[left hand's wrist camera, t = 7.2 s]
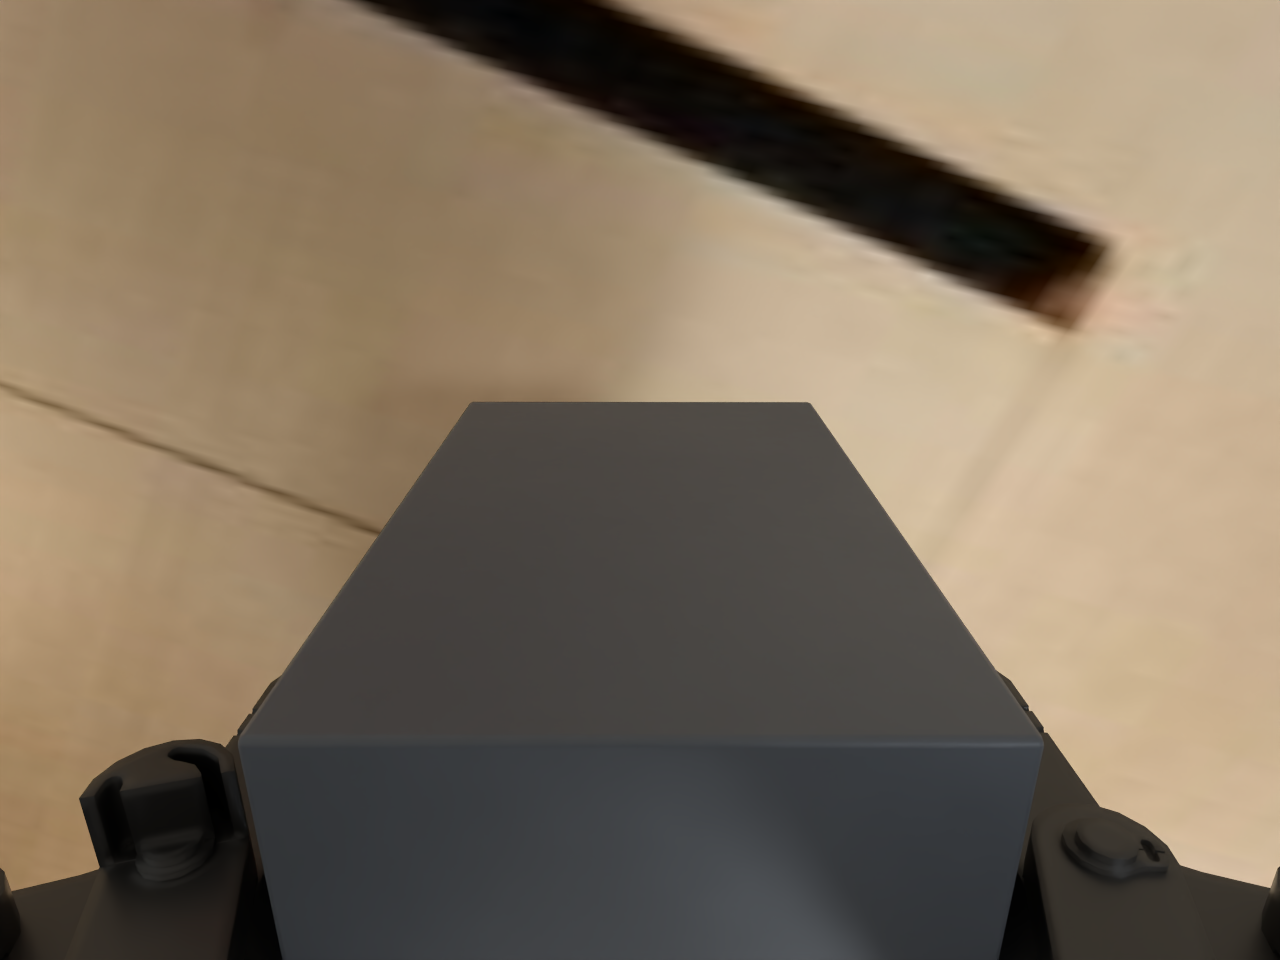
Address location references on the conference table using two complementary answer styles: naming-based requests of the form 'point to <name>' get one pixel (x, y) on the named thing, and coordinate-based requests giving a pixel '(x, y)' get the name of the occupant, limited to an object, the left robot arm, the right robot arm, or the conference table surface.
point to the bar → (640, 711)
